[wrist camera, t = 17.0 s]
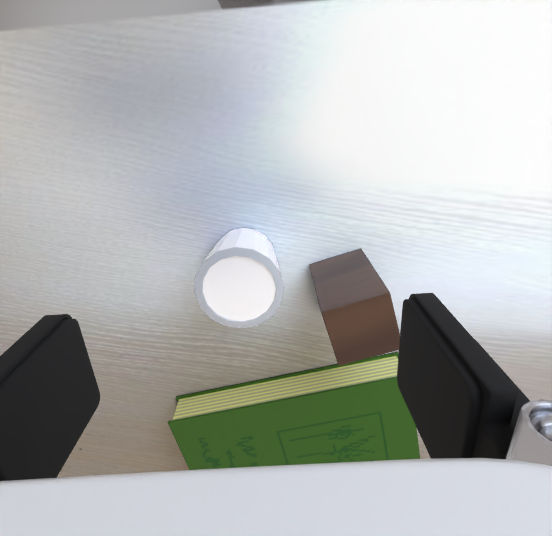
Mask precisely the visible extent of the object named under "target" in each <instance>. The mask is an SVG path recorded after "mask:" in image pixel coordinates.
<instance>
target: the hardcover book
mask: <svg viewBox="0 0 552 536" xmlns="http://www.w3.org/2000/svg"><path fill="white" fill-rule="evenodd" d="M398 356H399V354H398V352H395V353H390V354H385V355H380V356H375V357H370V358H366V359H362V360H359V361H355V362H351V363H348V364H344V365H341V366H339V365H338V364H336V365H331V366H326V367H321V368H316V369H311V370H306V371H301V372H296V373H291V374H286V375H281V376H276V377H271V378H266V379H261V380H256V381H251V382H246V383H241V384H236V385H231V386H226V387H221V388H216V389H211V390H206V391H201V392H196V393H191V394H186V395H181V396H177V397H176V399H177V401H178V404H177V407H176V411H175V414H174V417H173V420H171V421H168V424H169V426H170V428H171V431H172V433H173V435H174V437H175V439H176V441H177V443H178V446H179V448H180V450H181V452H182V454H183V456H184V459H185V461H186V463H187V465H188V467H189V469H190V470H202V469H221V468H239V467H258V466H279V465H300V464H321V463H342V462H362V461H384V460H407V459H420V454H419V446H418V438H417V429H416V425H415V423H414V420H413V418H412V416H411V414H410V412H409V410H408V407H407V405H406V403H405V401H404V399H403V397H402V394H401V392H400V390H399V387H398V383H397V368H398Z"/></svg>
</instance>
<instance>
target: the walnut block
mask: <svg viewBox="0 0 552 536" xmlns="http://www.w3.org/2000/svg"><path fill="white" fill-rule="evenodd" d="M310 269H311V273H312V277H313V281H314V285H315V289H316V293H317V297H318V301H319V305H320V309H321V313H322V316H323V319H324V322H325V325H326V328H327V331H328V334H329V337H330V340H331V343H332V347H333V350H334V353H335V356H336V359H337V362H338V365H339V366H341V365H344V364H348V363H351V362H355V361H359V360H362V359H366V358H370V357H373V356H377V355H381V354H384V353H388V352H391V351H395V350H399V344H400V333H399V329H398V325H397V320H396V316H395V312H394V308H393V304H392V299H391V295H390V292H389V290H388V289H387V287H386V286H385V284H384V283H383V281H382V280H381V278H380V277H379V275H378V274H377V272H376V271H375V269H374V267H373V266H372V264H371V263H370V261H369V260H368V258H367V257H366V255H365V254H364V252H363V251H362V249H358V250H355V251H351V252H348V253H345V254H342V255H338V256H335V257H332V258H329V259H326V260H322V261H319V262H316V263H313V264H310Z"/></svg>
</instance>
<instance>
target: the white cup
mask: <svg viewBox="0 0 552 536" xmlns="http://www.w3.org/2000/svg"><path fill="white" fill-rule="evenodd" d="M284 288H285V287H284V283H283V280H282V276H281V272H280V269H279V265H278V262H277V259H276V255H275V252H274V248H273V245H272V243H271V242H270V241H269V240H268V238H267V237H266V236H265V235H264V234H262V233H260V232H258V231H257V230H255V229H248V228H239V229H235V230H231V231H230V232H228V233H227V234H225V235H224V236H223V237H221V239H220V240H219V241H218V243H217V244H216V245H215V247H214V248H213V249H212V251H211V252H210V253H209V255H208V256H207V257H206V259H205V260H204V261H203V263H202V265H201V267H200V269H199V270H198V272H197V274H196V276H195V287H194V293H195V296H196V298H197V301H198V304H199V306H200V308H201V309H202V310H203V311H204V312H205V313H206V314H207V315H208V316H209V317H210V318H211V319H212V320H214V321H216V322H218V323H220V324H222V325H224V326H226V327H235V328H248V327H252V326H256V325H260V324H261V323H263V322H265V321H266V320H268V319H269V318H271V317H272V316H273V315H274V314H275V312H276V311H277V309H278V308H279V306H280V305H281V303H282V299H283V294H284Z"/></svg>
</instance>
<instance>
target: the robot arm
mask: <svg viewBox="0 0 552 536" xmlns="http://www.w3.org/2000/svg"><path fill="white" fill-rule="evenodd" d="M397 383H398V387H399V390H400V392H401V394H402V397H403V399H404V401H405V403H406V405H407V407H408V410H409V412H410V414H411V416H412V418H413V420H414V423H415V425H416V427H417V429H418V431H419V433H420V436H421V438H422V440H423V442H424V444H425V446H426V449H427V451H428V453H429V455H430V457H431V459H407V460H384V461H362V462H342V463H321V464H300V465H279V466H258V467H239V468H221V469H202V470H183V471H165V472H147V473H129V474H112V475H95V476H78V477H62V478H56V477H57V476H58V474H59V472H60V470H61V469H62V467H63V465H64V463H65V462H66V460H67V458H68V457H69V455H70V453H71V451H72V450H73V448H74V446H75V445H76V443H77V441H78V439H79V438H80V436H81V434H82V433H83V431H84V429H85V427H86V426H87V424H88V422H89V421H90V419H91V417H92V415H93V414H94V412H95V410H96V409H97V407H98V405H99V401H100V392H99V389H98V385H97V382H96V379H95V376H94V372H93V369H92V366H91V363H90V359H89V356H88V353H87V350H86V346H85V343H84V340H83V337H82V333H81V330H80V327H79V324H78V321H77V320H76V319H72V317H71V316H70V315H68V314H61V315H46V316H44V317H43V318H42V319H41V320H40V321H38V322H37V323H36V324H35V325H34V326H33V327H32V328H31V329H30V330H29V331H27V332H26V333H25V334H24V335H23V336H22V337H21V338H20V339H19V340H18V341H16V342H15V343H14V344H13V345H12V346H11V347H10V348H9V349H8V350H7V351H5V352H4V353H3V354H2V355H1V356H0V536H552V400H534V401H530V400H529V399H528V398H527V397H526V396H525V395H524V394H523V393H522V391H521V390H520V389H519V388H518V387H517V386H516V385H515V384H514V383H513V381H512V380H511V379H510V378H509V377H508V376H507V375H506V374H505V372H504V371H503V370H502V369H501V368H500V367H499V366H498V365H497V363H496V362H495V361H494V360H493V359H492V358H491V357H490V356H489V354H488V353H487V352H486V351H485V350H484V349H483V348H482V347H481V346H480V344H479V343H478V342H477V341H476V340H475V339H474V338H473V337H472V336H471V335H470V334H469V333H468V332H467V331H466V330H465V328H464V327H463V326H462V325H461V324H460V323H459V322H458V321H457V319H456V318H455V317H454V316H453V315H452V314H451V313H450V312H449V310H448V309H447V308H446V307H445V306H444V305H443V304H442V303H441V301H440V300H439V299H438V298H437V297H436V296H435V295H434V294H433V293H422V294H411V295H410V298H409V299H405V300H404V302H403V309H402V320H401V332H400V344H399V356H398V368H397Z"/></svg>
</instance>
